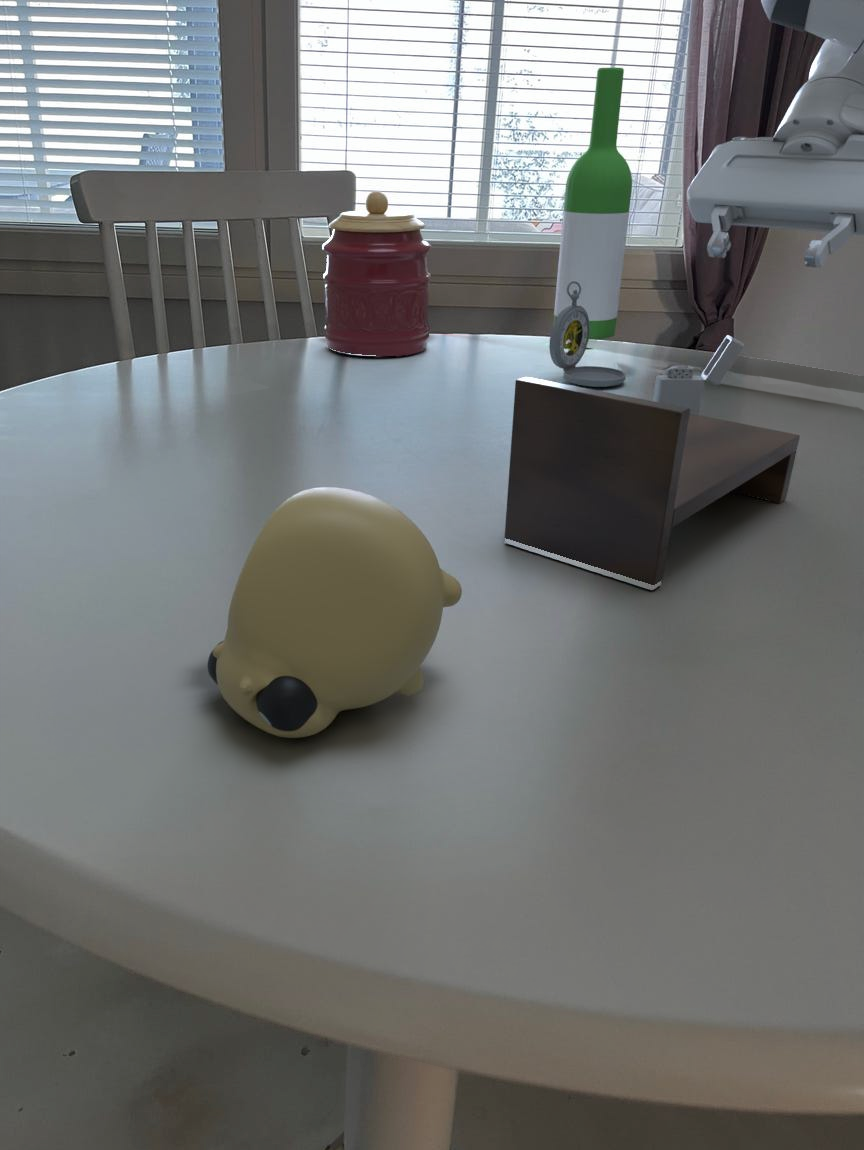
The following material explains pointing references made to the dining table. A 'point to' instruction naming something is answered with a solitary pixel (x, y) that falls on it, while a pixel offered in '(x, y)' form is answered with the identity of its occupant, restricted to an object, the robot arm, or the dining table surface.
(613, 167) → the wine bottle
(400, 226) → the kitchen canister
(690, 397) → the lighter
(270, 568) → the toy pig
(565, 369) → the pocket watch
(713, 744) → the dining table surface
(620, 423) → the shelf
